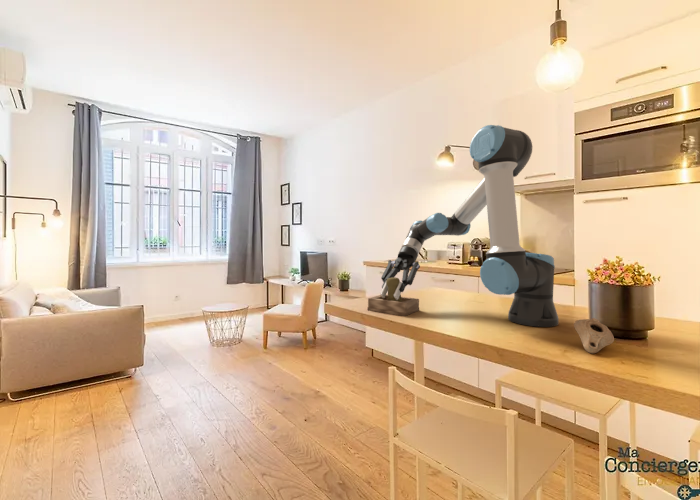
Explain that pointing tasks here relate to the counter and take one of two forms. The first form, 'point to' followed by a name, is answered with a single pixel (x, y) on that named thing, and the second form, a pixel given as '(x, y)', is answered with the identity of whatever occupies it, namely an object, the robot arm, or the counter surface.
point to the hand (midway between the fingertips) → (388, 296)
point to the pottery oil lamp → (593, 334)
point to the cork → (393, 288)
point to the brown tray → (393, 305)
